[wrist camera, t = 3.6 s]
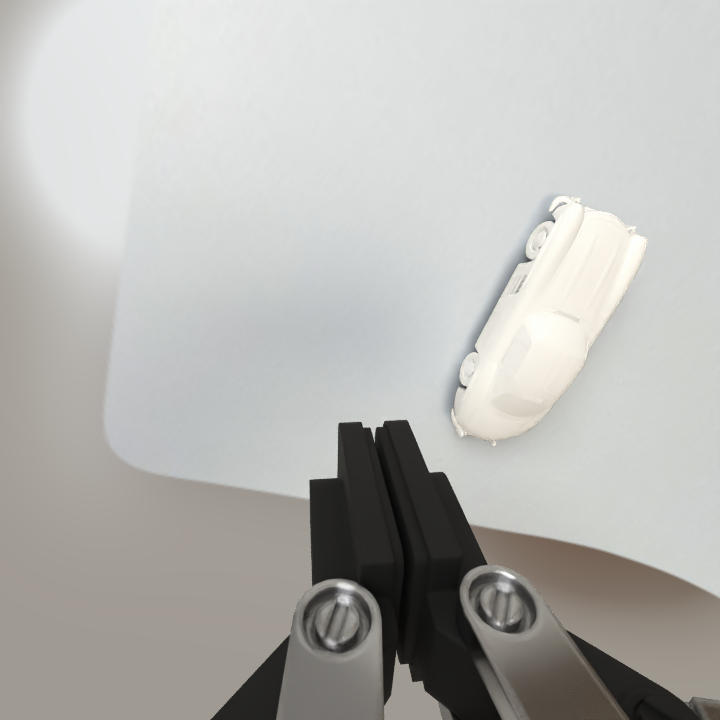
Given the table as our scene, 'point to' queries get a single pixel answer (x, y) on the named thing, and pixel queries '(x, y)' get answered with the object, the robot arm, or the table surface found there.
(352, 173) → the table surface
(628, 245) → the toy car
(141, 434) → the table surface
